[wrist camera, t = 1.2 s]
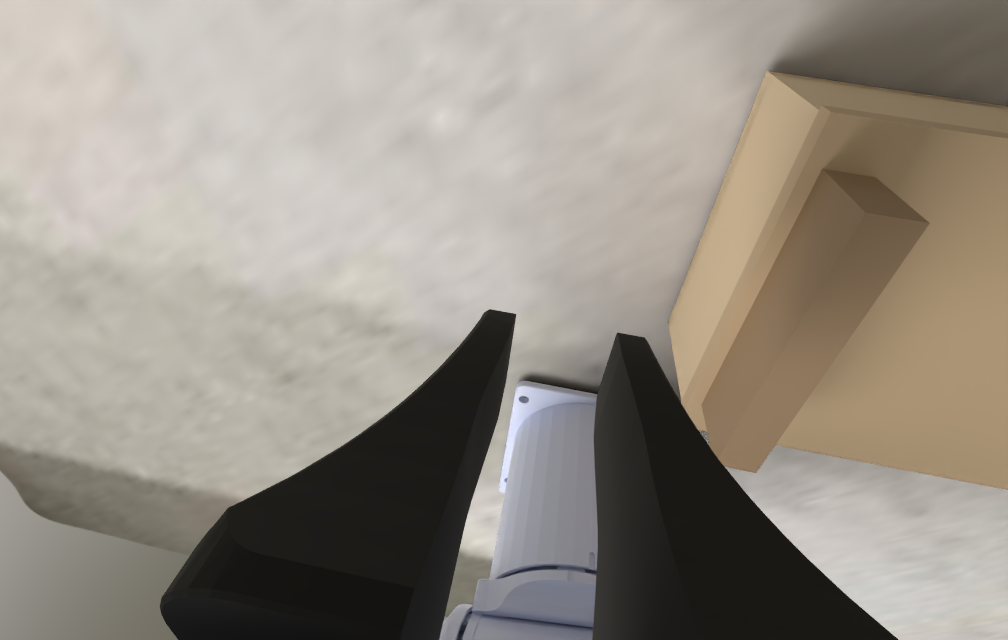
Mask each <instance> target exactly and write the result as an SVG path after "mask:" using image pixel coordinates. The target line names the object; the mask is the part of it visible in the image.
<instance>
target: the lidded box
mask: <svg viewBox="0 0 1008 640" xmlns="http://www.w3.org/2000/svg"><path fill="white" fill-rule="evenodd" d="M821 105H824V106H831V107H838V108H844V109H851V110H858V111H864V112H871V113H878V114H884V115H891V116H897V117H904V118H911V119H917V120H924V121H931V122H937V123H944V124H951V125H957V126H964V127H970V128H977V129H984V130H990V131H997V132H1004V133H1008V106H1002V105H995V104H989V103H982V102H975V101H968V100H962V99H955V98H948V97H941V96H934V95H928V94H921V93H914V92H907V91H901V90H894V89H887V88H880V87H873V86H867V85H860V84H853V83H846V82H840V81H833V80H826V79H819V78H812V77H806V76H799V75H792V74H785V73H779V72H772V71H767V72H766V74H765V77H764V79H763V82H762V84H761V87H760V89H759V92H758V94H757V97H756V100H755V102H754V105H753V107H752V110H751V112H750V115H749V117H748V120H747V122H746V125H745V127H744V130H743V133H742V135H741V138H740V140H739V143H738V145H737V148H736V150H735V153H734V155H733V158H732V161H731V163H730V166H729V168H728V171H727V173H726V176H725V178H724V181H723V183H722V186H721V188H720V191H719V194H718V196H717V199H716V201H715V204H714V206H713V209H712V211H711V214H710V216H709V219H708V222H707V224H706V227H705V229H704V232H703V234H702V237H701V239H700V242H699V244H698V247H697V249H696V252H695V255H694V257H693V260H692V262H691V265H690V267H689V270H688V272H687V275H686V277H685V280H684V283H683V285H682V288H681V290H680V293H679V295H678V298H677V300H676V303H675V305H674V308H673V310H672V313H671V316H670V318H669V321H668V326H669V332H670V337H671V343H672V349H673V355H674V361H675V367H676V372H677V378H678V384H679V390H680V396H681V401H682V398H683V396H684V394H685V392H686V390H687V388H688V386H689V384H690V382H691V379H692V377H693V375H694V373H695V371H696V369H697V367H698V365H699V363H700V360H701V358H702V356H703V354H704V352H705V350H706V348H707V346H708V344H709V341H710V339H711V337H712V335H713V333H714V331H715V329H716V327H717V325H718V322H719V320H720V318H721V316H722V314H723V312H724V310H725V308H726V305H727V303H728V301H729V299H730V297H731V295H732V293H733V291H734V289H735V286H736V284H737V282H738V280H739V278H740V276H741V274H742V272H743V270H744V267H745V265H746V263H747V261H748V259H749V257H750V255H751V253H752V251H753V248H754V246H755V244H756V242H757V240H758V238H759V236H760V234H761V232H762V229H763V227H764V225H765V223H766V221H767V219H768V217H769V215H770V213H771V210H772V208H773V206H774V204H775V202H776V200H777V198H778V196H779V193H780V191H781V189H782V187H783V185H784V183H785V181H786V179H787V177H788V174H789V172H790V170H791V168H792V166H793V164H794V162H795V160H796V158H797V155H798V153H799V151H800V149H801V147H802V145H803V143H804V141H805V139H806V136H807V134H808V132H809V130H810V128H811V126H812V124H813V122H814V120H815V117H816V115H817V113H818V111H819V109H820V107H821Z"/></svg>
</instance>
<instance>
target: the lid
mask: <svg viewBox="0 0 1008 640" xmlns="http://www.w3.org/2000/svg"><path fill="white" fill-rule="evenodd" d="M681 404H682V405H683V407H684V409H685V410H686V412H687V413H688V415H689V417H690V418H691V420H692V421H693V423H694V424H695V426H696V428H697V429H698V430H700V431H705V432H707V433H708V438H709V443H710V447H711V450H712V451H713V452H714V454H715V455H716V456H717V458H718V459H719V461H720V462H721V463H722V464H723V466H724V467H729V468H734V469H739V470H744V471H749V472H754V473H756V472H757V471H758V469H759V468H760V466H761V465H762V463H763V462H764V461H765V459H766V458H767V456H768V455H769V453H770V452H771V451H772V449H773V448H774V446H775V445H778V446H783V447H788V448H793V449H799V450H804V451H809V452H814V453H819V454H825V455H830V456H835V457H840V458H845V459H850V460H856V461H861V462H866V463H871V464H876V465H882V466H887V467H892V468H897V469H902V470H907V471H913V472H918V473H923V474H928V475H933V476H939V477H944V478H949V479H954V480H959V481H964V482H970V483H975V484H980V485H985V486H990V487H996V488H1001V489H1006V490H1008V133H1004V132H997V131H990V130H984V129H977V128H970V127H964V126H957V125H951V124H944V123H937V122H931V121H924V120H917V119H911V118H904V117H897V116H891V115H884V114H878V113H871V112H864V111H858V110H851V109H844V108H838V107H831V106H824V105H821V107H820V109H819V111H818V113H817V115H816V117H815V120H814V122H813V124H812V126H811V128H810V130H809V132H808V134H807V136H806V139H805V141H804V143H803V145H802V147H801V149H800V151H799V153H798V155H797V158H796V160H795V162H794V164H793V166H792V168H791V170H790V172H789V174H788V177H787V179H786V181H785V183H784V185H783V187H782V189H781V191H780V193H779V196H778V198H777V200H776V202H775V204H774V206H773V208H772V210H771V213H770V215H769V217H768V219H767V221H766V223H765V225H764V227H763V229H762V232H761V234H760V236H759V238H758V240H757V242H756V244H755V246H754V248H753V251H752V253H751V255H750V257H749V259H748V261H747V263H746V265H745V267H744V270H743V272H742V274H741V276H740V278H739V280H738V282H737V284H736V286H735V289H734V291H733V293H732V295H731V297H730V299H729V301H728V303H727V305H726V308H725V310H724V312H723V314H722V316H721V318H720V320H719V322H718V325H717V327H716V329H715V331H714V333H713V335H712V337H711V339H710V341H709V344H708V346H707V348H706V350H705V352H704V354H703V356H702V358H701V360H700V363H699V365H698V367H697V369H696V371H695V373H694V375H693V377H692V379H691V382H690V384H689V386H688V388H687V390H686V392H685V394H684V396H683V398H682V401H681Z"/></svg>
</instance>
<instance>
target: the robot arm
mask: <svg viewBox="0 0 1008 640" xmlns="http://www.w3.org/2000/svg"><path fill="white" fill-rule="evenodd" d="M515 319H516V314H513V313H507V312H502V311H496V310H491V309H490V310H488V311H486V312H484V314H483V316H482V317H481V319H480V320H479V322H478V323H477V324H476V326H475V327H474V328H473V330H472V331H471V332H470V334H469V335H468V336H467V337H466V338H465V340H464V341H463V342H462V343H461V344H460V346H459V347H458V348H457V349H456V350H455V351H454V352H453V353H452V354H451V356H450V357H449V358H448V359H447V360H446V361H445V362H444V363H443V364H442V365H441V366H440V367H439V368H438V369H437V370H436V371H435V372H434V373H433V374H432V375H431V376H430V377H429V378H428V379H427V380H426V381H425V382H424V383H423V384H422V385H421V386H420V387H419V388H418V389H416V390H415V391H414V392H413V393H412V394H411V395H410V396H408V397H407V398H406V399H405V400H404V401H403V402H401V403H400V404H399V405H398V406H397V407H395V408H394V409H393V410H392V411H390V412H389V413H388V414H387V415H385V416H384V417H383V418H381V419H380V420H379V421H377V422H376V423H374V424H373V425H372V426H370V427H369V428H367V429H366V430H365V431H363V432H362V433H361V434H359V435H358V436H356V437H355V438H353V439H352V440H350V441H349V442H347V443H346V444H344V445H343V446H341V447H340V448H338V449H336V450H335V451H333V452H331V453H330V454H328V455H326V456H325V457H323V458H321V459H320V460H318V461H316V462H315V463H313V464H311V465H310V466H308V467H306V468H305V469H303V470H301V471H300V472H298V473H296V474H294V475H292V476H291V477H289V478H287V479H285V480H283V481H281V482H279V483H277V484H275V485H273V486H271V487H269V488H267V489H265V490H263V491H261V492H259V493H257V494H255V495H253V496H251V497H249V498H247V499H245V500H244V501H242V502H240V503H237V504H235V505H233V506H231V507H229V508H228V509H227V510H226V511H225V512H224V514H223V515H222V516H221V517H220V518H219V520H218V521H217V522H216V523H215V524H214V526H213V527H212V528H211V529H210V530H209V531H208V532H207V534H206V535H205V536H204V537H203V539H202V540H201V541H200V542H199V544H198V545H197V546H196V548H195V549H194V551H193V552H192V554H191V555H190V557H189V558H188V560H187V561H186V563H185V564H184V566H183V567H182V569H181V570H180V571H179V573H178V575H177V576H176V577H175V579H174V580H173V582H172V583H171V585H170V586H169V588H168V589H167V591H166V592H165V594H164V595H163V597H162V599H161V604H160V609H161V614H162V616H163V618H164V620H165V622H166V624H167V625H168V626H169V628H170V629H171V631H172V632H173V633H174V635H175V636H176V637H177V639H178V640H898V639H897V638H896V637H895V636H893V635H892V634H891V633H890V632H889V631H888V630H886V629H885V628H884V627H883V626H882V625H881V624H879V623H878V622H877V621H876V620H875V619H874V618H872V617H871V616H870V615H869V614H868V613H866V612H865V611H864V610H863V609H862V608H861V607H859V606H858V605H857V604H856V603H855V602H854V601H852V600H851V599H850V598H849V597H848V596H847V595H846V594H845V593H843V592H842V591H841V590H840V589H839V588H838V587H837V586H836V585H835V584H834V583H833V582H832V581H831V580H830V579H828V578H827V577H826V576H825V575H824V574H823V573H822V572H821V571H820V570H819V569H818V568H817V567H816V566H815V565H814V564H813V563H811V562H810V561H809V560H808V559H807V558H806V557H805V556H804V555H803V554H802V553H801V552H800V551H799V550H798V549H797V548H796V547H795V546H794V545H793V544H792V543H791V542H790V541H789V540H788V539H787V538H786V537H785V536H784V535H783V533H782V532H781V531H780V530H779V529H778V528H777V527H776V526H775V525H774V524H773V523H772V522H771V521H770V519H769V518H768V517H767V516H766V515H765V514H764V513H763V512H762V511H761V510H760V509H759V508H758V507H757V505H756V504H755V503H754V502H753V501H752V500H751V499H750V497H749V496H748V495H747V494H746V493H745V492H744V490H743V489H742V488H741V487H740V485H739V484H738V483H737V482H736V481H735V479H734V478H733V477H732V476H731V474H730V473H729V472H728V471H727V469H726V468H725V467H724V466H723V464H722V463H721V462H720V461H719V459H718V458H717V456H716V455H715V454H714V452H713V451H712V450H711V448H710V447H709V445H708V444H707V442H706V441H705V439H704V438H703V436H702V435H701V434H700V432H699V431H698V429H697V428H696V426H695V424H694V423H693V421H692V420H691V418H690V417H689V415H688V413H687V412H686V410H685V409H684V407H683V405H682V404H681V402H680V400H679V399H678V397H677V395H676V394H675V392H674V390H673V388H672V387H671V385H670V383H669V381H668V380H667V378H666V376H665V374H664V372H663V370H662V369H661V367H660V365H659V363H658V361H657V359H656V357H655V355H654V353H653V351H652V349H651V347H650V346H649V344H648V342H647V340H646V339H645V338H644V337H638V336H633V335H627V334H622V333H617V335H616V338H615V341H614V344H613V347H612V350H611V353H610V357H609V360H608V363H607V366H606V369H605V372H604V375H603V379H602V382H601V385H600V388H599V391H598V394H593V393H588V392H583V391H577V390H572V389H567V388H562V387H556V386H551V385H546V384H541V383H535V382H530V381H521V382H519V383H518V384H517V386H516V391H515V397H514V402H513V408H512V414H511V420H510V426H509V431H508V437H507V443H506V449H505V455H504V460H503V466H502V472H501V478H500V484H499V490H500V492H502V493H503V494H505V495H504V501H503V506H502V512H501V517H500V523H499V528H498V534H497V539H496V545H495V550H494V556H493V561H492V567H491V573H490V578H489V579H479V580H478V584H477V589H476V594H475V599H474V604H473V605H469V604H461V605H458V606H457V607H456V608H455V609H454V610H453V611H452V613H451V614H450V615H449V616H448V617H447V618H446V619H445V620H444V616H445V611H446V607H447V602H448V598H449V593H450V589H451V584H452V580H453V575H454V571H455V566H456V562H457V557H458V553H459V548H460V544H461V539H462V535H463V531H464V526H465V522H466V518H467V514H468V511H469V507H470V504H471V500H472V497H473V494H474V491H475V488H476V485H477V482H478V479H479V476H480V473H481V470H482V467H483V463H484V460H485V457H486V454H487V451H488V448H489V445H490V442H491V439H492V436H493V433H494V429H495V426H496V423H497V420H498V416H499V412H500V407H501V402H502V397H503V393H504V388H505V383H506V378H507V371H508V365H509V358H510V352H511V345H512V339H513V332H514V325H515ZM522 396H526V397H527V398H524V397H522ZM443 620H444V621H443Z"/></svg>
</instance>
